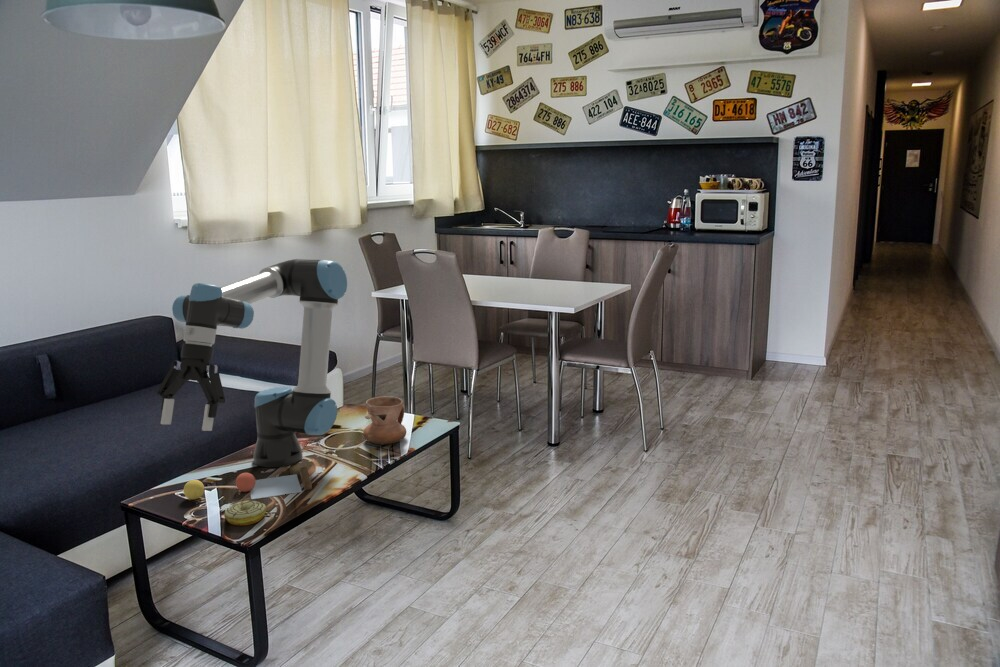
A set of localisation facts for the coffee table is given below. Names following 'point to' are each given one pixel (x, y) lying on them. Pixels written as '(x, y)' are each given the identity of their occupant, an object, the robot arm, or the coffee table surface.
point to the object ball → (245, 482)
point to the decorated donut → (245, 513)
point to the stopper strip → (305, 478)
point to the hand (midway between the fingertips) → (185, 427)
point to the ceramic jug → (385, 420)
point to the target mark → (275, 486)
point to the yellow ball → (193, 489)
